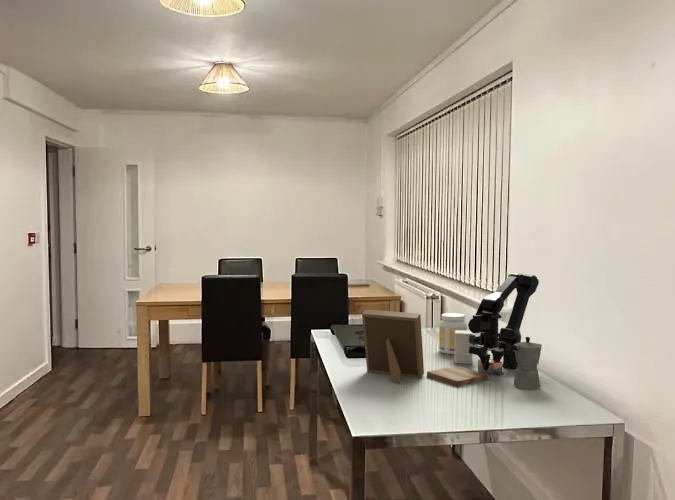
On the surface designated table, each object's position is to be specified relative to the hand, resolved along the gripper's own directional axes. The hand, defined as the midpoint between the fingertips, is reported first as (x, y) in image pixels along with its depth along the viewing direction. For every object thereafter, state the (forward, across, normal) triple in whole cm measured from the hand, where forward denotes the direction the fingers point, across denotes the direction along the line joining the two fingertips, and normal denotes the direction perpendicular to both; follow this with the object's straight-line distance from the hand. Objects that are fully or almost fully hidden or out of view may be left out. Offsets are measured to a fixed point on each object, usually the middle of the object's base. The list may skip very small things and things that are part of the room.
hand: (490, 369), depth 228 cm
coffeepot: (+1, +5, +20) cm, 21 cm away
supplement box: (+1, -4, -18) cm, 18 cm away
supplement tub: (+1, -13, -33) cm, 35 cm away
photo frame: (+1, +37, -16) cm, 40 cm away
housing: (+1, 0, 0) cm, 1 cm away
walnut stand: (+1, +17, -1) cm, 17 cm away
